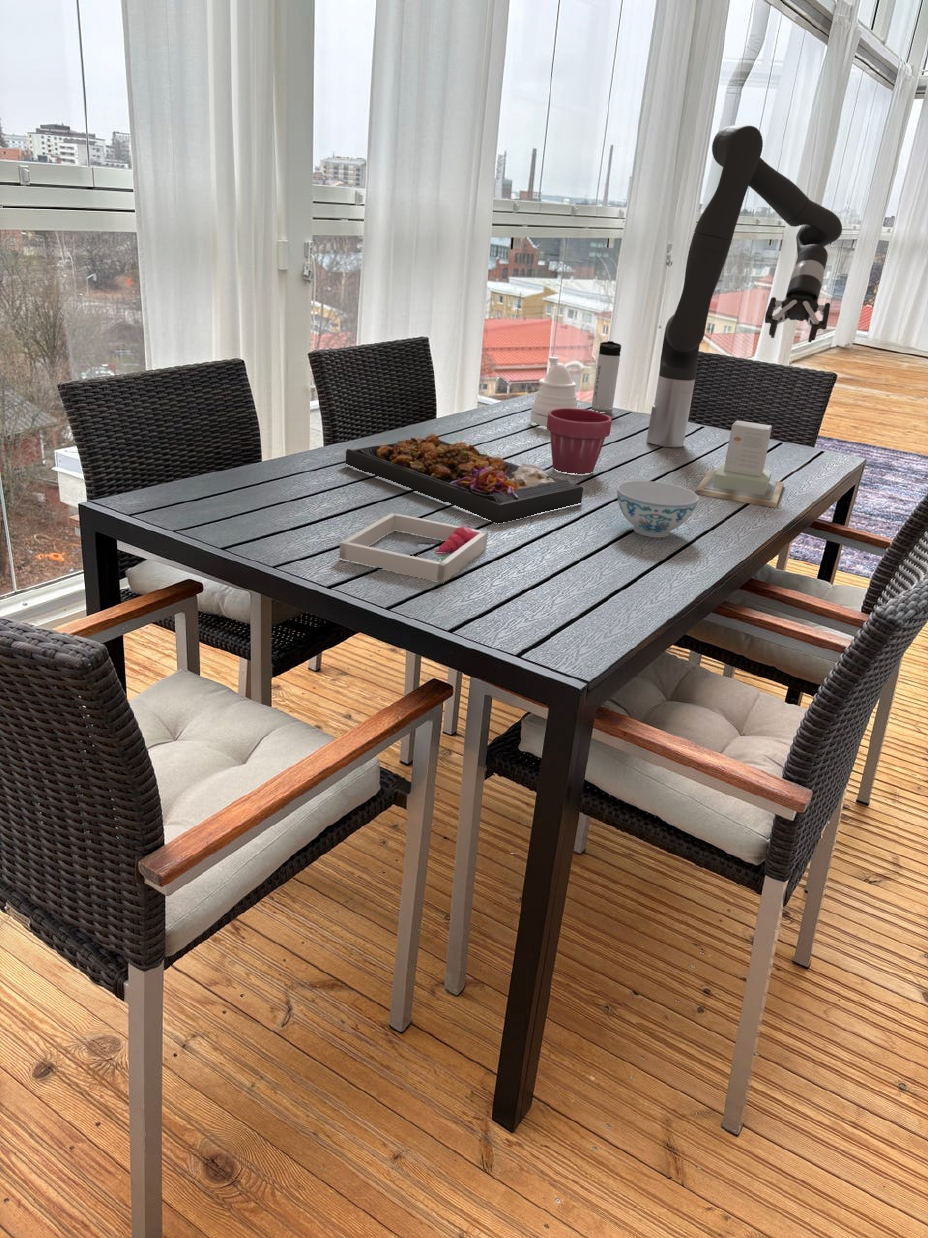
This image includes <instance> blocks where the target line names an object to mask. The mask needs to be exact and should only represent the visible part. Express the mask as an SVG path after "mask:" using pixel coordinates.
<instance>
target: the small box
mask: <svg viewBox="0 0 928 1238" xmlns="http://www.w3.org/2000/svg"><path fill="white" fill-rule="evenodd" d="M772 428H773V426H772V425H771V424H762V423H757V422H749V421H742V420H736V421H735V422H734V423H733V424H731V430H730V435H729V440H728V445H727V451H726V455H725V461H724V463H725V467H724V471H728V472H734V473H740V474H746V475H752V476H758V477H759V476H760V475H761V473H762V472H763V470H765V463H766V458H767V453H768V449H769V443H770V439H771V435H772V434H771V433H772Z"/></svg>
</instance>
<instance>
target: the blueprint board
mask: <svg viewBox="0 0 928 1238" xmlns="http://www.w3.org/2000/svg"><path fill="white" fill-rule="evenodd" d="M717 471H718V470H713V469H709V470H708V471H707V473H706V474H705V476H704V477H703V479H702V480H701V481H700V482H699V485H697V487H696V488H695V492H694V493H696V494H697V495H701V496H707V497H710V498H711V497H712V498H718V499H723V500H724V499H725V500H728V501H734V502H740V503H747V504H752V505H758V506H762V507H767V508H768V507H769V508H773V509H775V508H776V509H777V505H778V502H779V499H780V497H781V494H782V491H783V488H784V485H785V482H783V481H778V480H773V479H770V482H769V485H768V487H767V490H766V492H765V495H758V494H753V493H747V492H741V491H736V490H730V489H724V488H718V487H713V483H714V478H715V474H716V472H717Z"/></svg>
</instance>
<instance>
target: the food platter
mask: <svg viewBox="0 0 928 1238" xmlns="http://www.w3.org/2000/svg"><path fill="white" fill-rule="evenodd" d="M346 464H348V465H350V466H353V467H355V468H357V469H359V470H362V471H364V472H369V473H372V474H375V475H377V476H379V477H382V478H385V479H388V480H391V481H393V482H396V483H398V484H401V485H403V486H406V487H409V488H411V489H413V490H415V491H418V492H420V493H423V494H425V495H428V496H431V497H433V498H436V499H439V500H441V501H443V502H449V503H451V504H453V505H456V506H458V507H460V508H463V509H465V510H468V511H470V512H472V513H474V514H477V515H479V516H481V517H483V518H486V519H488V520H491V521H493V522H495V523H497V524H498V523H503V522H508V521H512V520H516V519H520V518H524V517H527V516H531V515H534V514H537V513H541V512H545V511H550V510H554V509H558V508H562V507H566V506H570V505H574V504H578V503H581V504H582V500H583V493H584V487H583V486H582V485H579V484H577V483H573V482H571V481H570V480H569V478H568V479H567V478H565V479H560V478H558V477H554V476H552V475H548V474H547V473H546V472H545V470H546V467H545V468H544V469H542V468H541V466H538V465H536V464H534V463H531V462H530V463H529V462H528V463H525V462H522V463H521V465H517V464H514V463H511V462H509V461H505V460H504V459H503V458H502V457H499V456H498V457H497V456H496V457H494V456H493V457H492V456H490V455H488V454H487V453H485V452H483V453H480V451H479V449H477V448H476V447H474V445H472V444H469V445H468V444H467V443H466V442H461V441H460V442H455V443H449V442H446V441H443V440H441V439H440V438H439V436H437V435H436V434H435V433H430V434H429V435H427V436H426V437H424V438H421V437H418V438H416V437H410V439H405V440H404V439H403V440H398V441H396V442H388V443H381V444H374V445H365V446H360V447H353V448H347V449H346V451H345V465H346ZM469 491H470V492H469ZM524 519H525V518H524ZM520 520H521V519H520ZM516 521H517V520H516ZM512 522H513V521H512ZM508 523H509V522H508ZM497 524H496V525H497Z"/></svg>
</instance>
